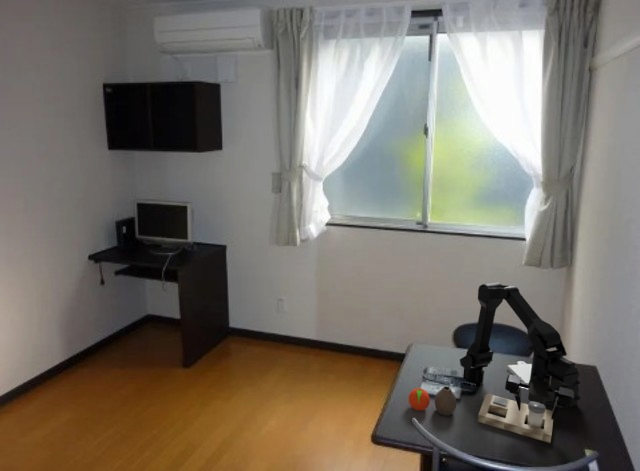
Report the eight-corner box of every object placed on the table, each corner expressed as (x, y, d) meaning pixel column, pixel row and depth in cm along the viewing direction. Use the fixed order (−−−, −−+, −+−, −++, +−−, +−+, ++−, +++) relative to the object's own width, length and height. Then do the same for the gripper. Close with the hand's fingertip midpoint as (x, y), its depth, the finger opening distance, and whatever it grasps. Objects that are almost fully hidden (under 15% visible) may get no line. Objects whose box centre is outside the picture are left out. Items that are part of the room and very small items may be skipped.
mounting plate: (503, 366, 187) (504, 362, 187) (534, 364, 189) (535, 360, 189) (529, 391, 170) (529, 386, 170) (562, 389, 172) (563, 384, 171)
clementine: (428, 418, 153) (430, 398, 152) (406, 414, 155) (408, 395, 153) (429, 404, 161) (430, 385, 159) (408, 401, 162) (409, 382, 161)
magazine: (588, 401, 161) (575, 365, 157) (551, 417, 162) (537, 381, 158) (582, 395, 164) (569, 360, 161) (546, 410, 165) (532, 375, 162)
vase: (456, 408, 159) (458, 384, 157) (454, 420, 152) (457, 395, 150) (435, 404, 161) (437, 380, 159) (432, 415, 155) (434, 391, 153)
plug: (524, 430, 148) (527, 407, 146) (526, 422, 152) (529, 399, 150) (541, 435, 146) (544, 411, 144) (542, 427, 150) (546, 403, 148)
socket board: (477, 421, 152) (478, 413, 151) (485, 399, 164) (486, 392, 163) (550, 443, 142) (551, 434, 141) (553, 418, 154) (554, 410, 153)
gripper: (505, 372, 141) (499, 419, 145) (576, 390, 133) (568, 438, 136) (510, 357, 151) (505, 400, 155) (576, 372, 142) (569, 418, 146)
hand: (535, 414), depth 148 cm, fingers open, 9 cm apart
